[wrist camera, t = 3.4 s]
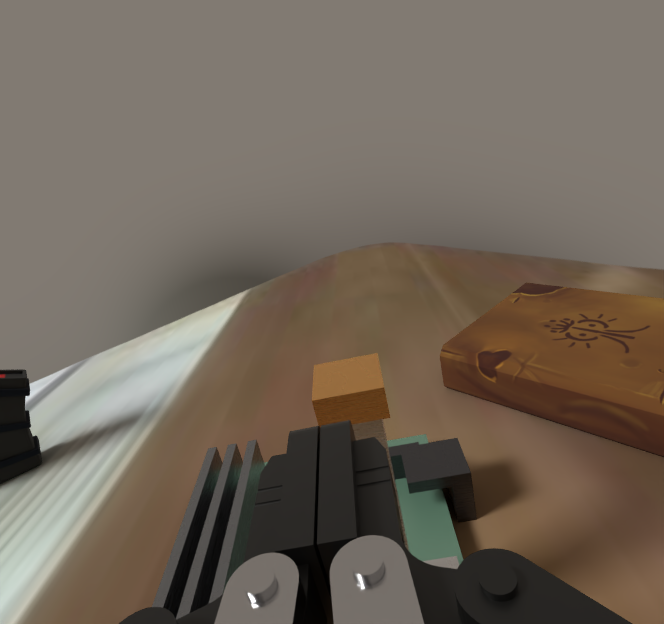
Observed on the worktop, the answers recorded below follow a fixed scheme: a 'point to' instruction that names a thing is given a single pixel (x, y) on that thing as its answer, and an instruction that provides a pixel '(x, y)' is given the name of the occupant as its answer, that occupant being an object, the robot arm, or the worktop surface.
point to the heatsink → (239, 501)
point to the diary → (569, 361)
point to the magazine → (16, 427)
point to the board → (426, 517)
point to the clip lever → (358, 408)
